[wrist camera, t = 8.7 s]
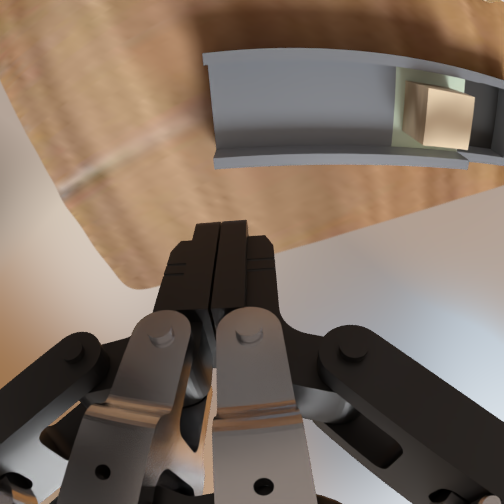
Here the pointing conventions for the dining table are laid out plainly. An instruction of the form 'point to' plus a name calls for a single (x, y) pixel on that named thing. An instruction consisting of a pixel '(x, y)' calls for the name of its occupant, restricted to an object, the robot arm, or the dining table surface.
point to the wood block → (437, 115)
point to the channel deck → (339, 109)
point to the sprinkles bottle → (491, 0)
